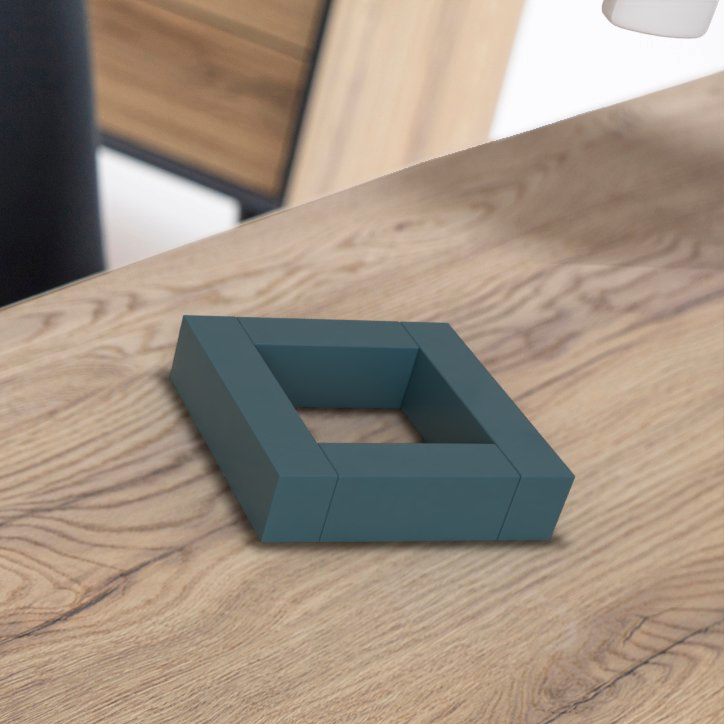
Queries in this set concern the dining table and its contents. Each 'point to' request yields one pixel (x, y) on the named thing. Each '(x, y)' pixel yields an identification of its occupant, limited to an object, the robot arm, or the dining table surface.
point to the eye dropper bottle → (662, 16)
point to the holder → (365, 460)
